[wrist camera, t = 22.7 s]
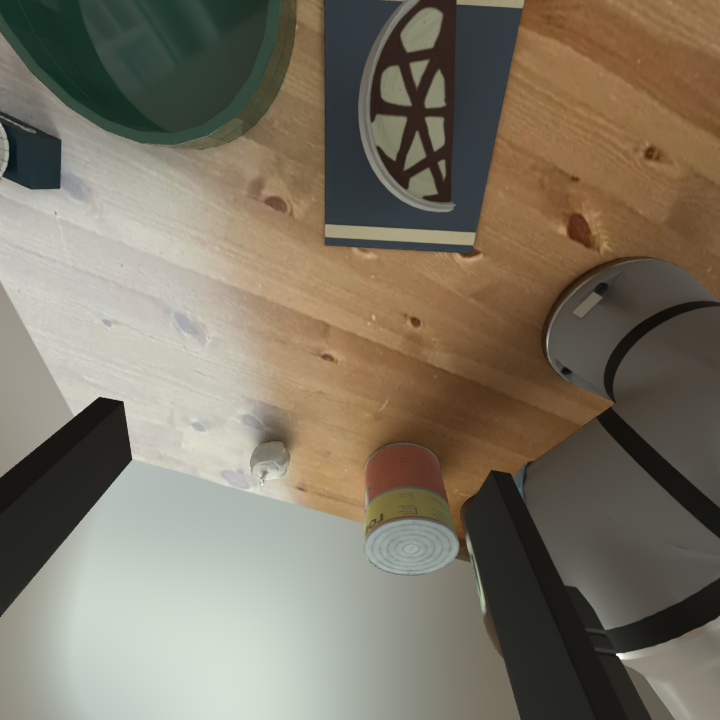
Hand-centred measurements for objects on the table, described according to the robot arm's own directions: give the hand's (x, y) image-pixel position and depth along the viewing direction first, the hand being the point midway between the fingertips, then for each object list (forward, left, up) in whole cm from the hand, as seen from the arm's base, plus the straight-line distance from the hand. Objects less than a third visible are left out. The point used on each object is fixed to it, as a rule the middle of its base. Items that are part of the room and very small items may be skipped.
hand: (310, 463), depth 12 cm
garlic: (+10, +26, -27) cm, 39 cm away
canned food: (-9, +29, -27) cm, 41 cm away
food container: (-4, -13, -26) cm, 30 cm away
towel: (-5, -13, -27) cm, 30 cm away
